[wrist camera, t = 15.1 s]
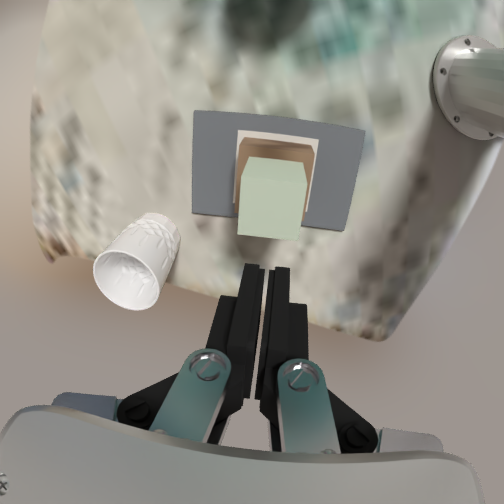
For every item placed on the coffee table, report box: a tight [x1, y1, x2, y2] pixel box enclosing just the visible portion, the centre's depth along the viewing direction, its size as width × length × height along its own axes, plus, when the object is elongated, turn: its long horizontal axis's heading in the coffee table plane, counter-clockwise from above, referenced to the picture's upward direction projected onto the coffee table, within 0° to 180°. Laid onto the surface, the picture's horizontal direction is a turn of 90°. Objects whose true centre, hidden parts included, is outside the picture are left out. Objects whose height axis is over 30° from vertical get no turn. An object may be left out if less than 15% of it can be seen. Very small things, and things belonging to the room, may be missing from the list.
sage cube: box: [237, 157, 307, 241], centre depth 27 cm, size 5×5×6 cm
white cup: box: [93, 213, 180, 310], centre depth 35 cm, size 8×8×10 cm
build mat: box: [192, 110, 365, 231], centre depth 33 cm, size 18×12×1 cm, turn 85°
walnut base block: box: [234, 137, 315, 221], centre depth 31 cm, size 7×7×4 cm
